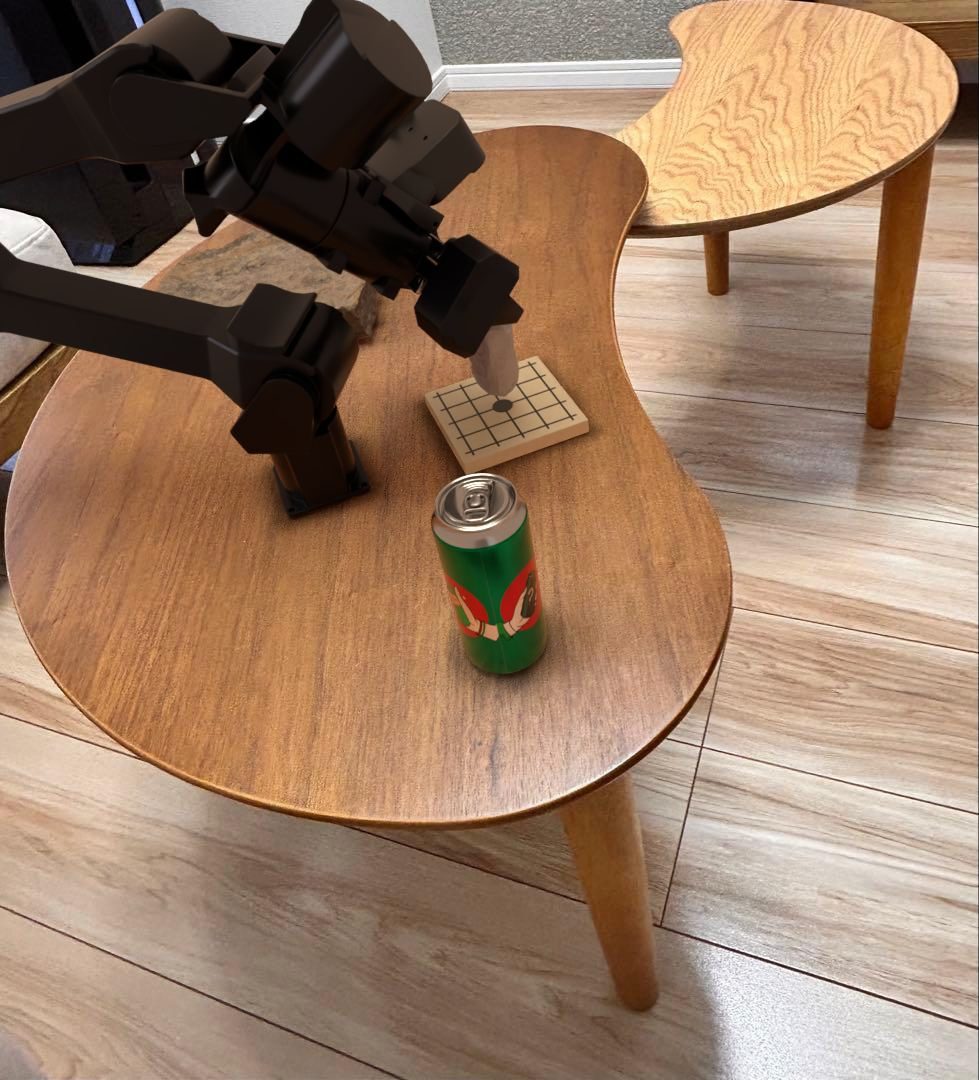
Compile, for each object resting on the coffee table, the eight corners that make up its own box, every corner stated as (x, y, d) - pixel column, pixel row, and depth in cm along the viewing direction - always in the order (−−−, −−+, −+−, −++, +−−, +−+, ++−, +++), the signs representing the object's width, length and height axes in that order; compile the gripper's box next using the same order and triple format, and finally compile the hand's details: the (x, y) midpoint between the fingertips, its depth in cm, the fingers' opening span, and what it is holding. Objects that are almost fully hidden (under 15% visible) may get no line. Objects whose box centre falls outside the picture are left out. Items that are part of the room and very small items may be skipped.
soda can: (544, 608, 54) (522, 461, 45) (551, 674, 50) (528, 528, 42) (464, 617, 54) (427, 474, 46) (465, 684, 51) (425, 541, 42)
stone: (154, 356, 83) (134, 314, 80) (222, 256, 96) (207, 217, 93) (368, 344, 79) (356, 300, 75) (408, 241, 92) (399, 200, 89)
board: (589, 432, 65) (588, 418, 64) (466, 475, 64) (463, 463, 63) (538, 367, 72) (537, 354, 71) (426, 405, 71) (423, 392, 70)
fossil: (463, 380, 68) (440, 261, 61) (504, 366, 69) (485, 247, 62) (489, 418, 64) (468, 295, 57) (533, 403, 65) (516, 280, 58)
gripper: (464, 111, 42) (647, 245, 53) (322, 39, 55) (494, 160, 65) (358, 312, 46) (550, 399, 57) (246, 202, 58) (421, 291, 69)
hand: (501, 302), depth 62 cm, fingers closed on fossil, 4 cm apart
